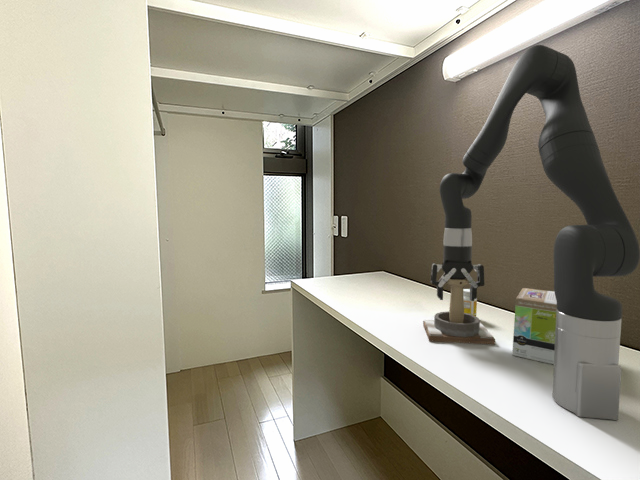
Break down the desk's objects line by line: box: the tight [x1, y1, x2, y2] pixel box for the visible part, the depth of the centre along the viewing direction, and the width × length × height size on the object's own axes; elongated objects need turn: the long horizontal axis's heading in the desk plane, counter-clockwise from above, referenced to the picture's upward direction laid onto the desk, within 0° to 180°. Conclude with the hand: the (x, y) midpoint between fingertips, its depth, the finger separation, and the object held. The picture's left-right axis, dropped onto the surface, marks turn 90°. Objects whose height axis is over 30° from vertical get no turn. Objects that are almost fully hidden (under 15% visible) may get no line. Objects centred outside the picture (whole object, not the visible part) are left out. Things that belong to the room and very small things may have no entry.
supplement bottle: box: [463, 288, 478, 317], centre depth 112 cm, size 5×5×10 cm
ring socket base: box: [422, 311, 496, 345], centre depth 98 cm, size 13×17×5 cm
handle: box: [445, 278, 470, 323], centre depth 98 cm, size 5×6×15 cm
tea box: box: [512, 287, 557, 365], centre depth 86 cm, size 15×10×15 cm
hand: (456, 299), depth 97 cm, fingers open, 8 cm apart
